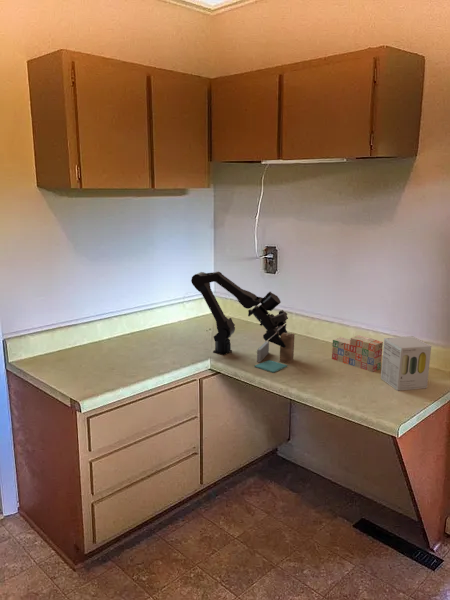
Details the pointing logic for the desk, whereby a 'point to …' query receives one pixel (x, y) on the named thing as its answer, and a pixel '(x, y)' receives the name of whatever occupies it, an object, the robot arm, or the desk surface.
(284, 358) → the letter block
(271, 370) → the mat
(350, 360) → the stack of blocks
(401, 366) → the supplement box
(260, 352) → the screen
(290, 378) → the desk surface
